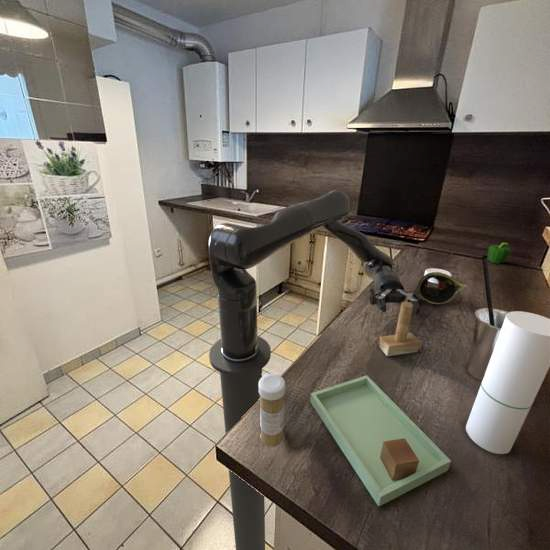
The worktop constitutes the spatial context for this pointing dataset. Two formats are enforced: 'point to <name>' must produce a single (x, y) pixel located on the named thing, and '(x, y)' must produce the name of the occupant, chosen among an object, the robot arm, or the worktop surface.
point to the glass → (485, 331)
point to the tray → (375, 436)
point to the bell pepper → (498, 253)
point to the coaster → (436, 271)
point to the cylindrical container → (510, 381)
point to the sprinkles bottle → (271, 409)
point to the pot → (444, 282)
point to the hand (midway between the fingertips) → (401, 310)
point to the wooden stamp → (401, 335)
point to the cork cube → (398, 459)
